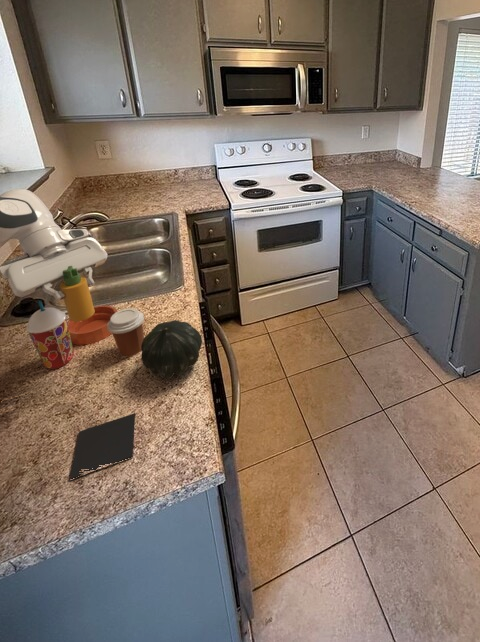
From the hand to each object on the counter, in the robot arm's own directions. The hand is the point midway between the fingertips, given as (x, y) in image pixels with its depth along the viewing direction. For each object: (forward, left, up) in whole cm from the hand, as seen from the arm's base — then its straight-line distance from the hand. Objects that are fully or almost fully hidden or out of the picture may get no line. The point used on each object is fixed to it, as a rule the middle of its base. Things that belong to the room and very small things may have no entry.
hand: (77, 292), depth 87 cm
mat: (+4, -25, -24) cm, 35 cm away
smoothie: (-10, +7, -24) cm, 27 cm away
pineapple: (0, +1, -7) cm, 7 cm away
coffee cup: (+8, +4, -24) cm, 26 cm away
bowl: (-3, +18, -24) cm, 30 cm away
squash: (+19, -7, -24) cm, 32 cm away
